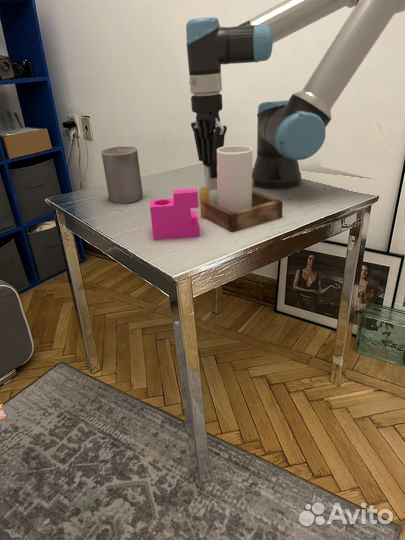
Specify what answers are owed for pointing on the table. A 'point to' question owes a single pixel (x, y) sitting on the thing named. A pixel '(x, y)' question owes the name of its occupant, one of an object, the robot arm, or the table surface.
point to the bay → (241, 211)
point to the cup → (234, 177)
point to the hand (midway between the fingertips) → (211, 189)
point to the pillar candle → (122, 174)
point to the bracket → (175, 215)
